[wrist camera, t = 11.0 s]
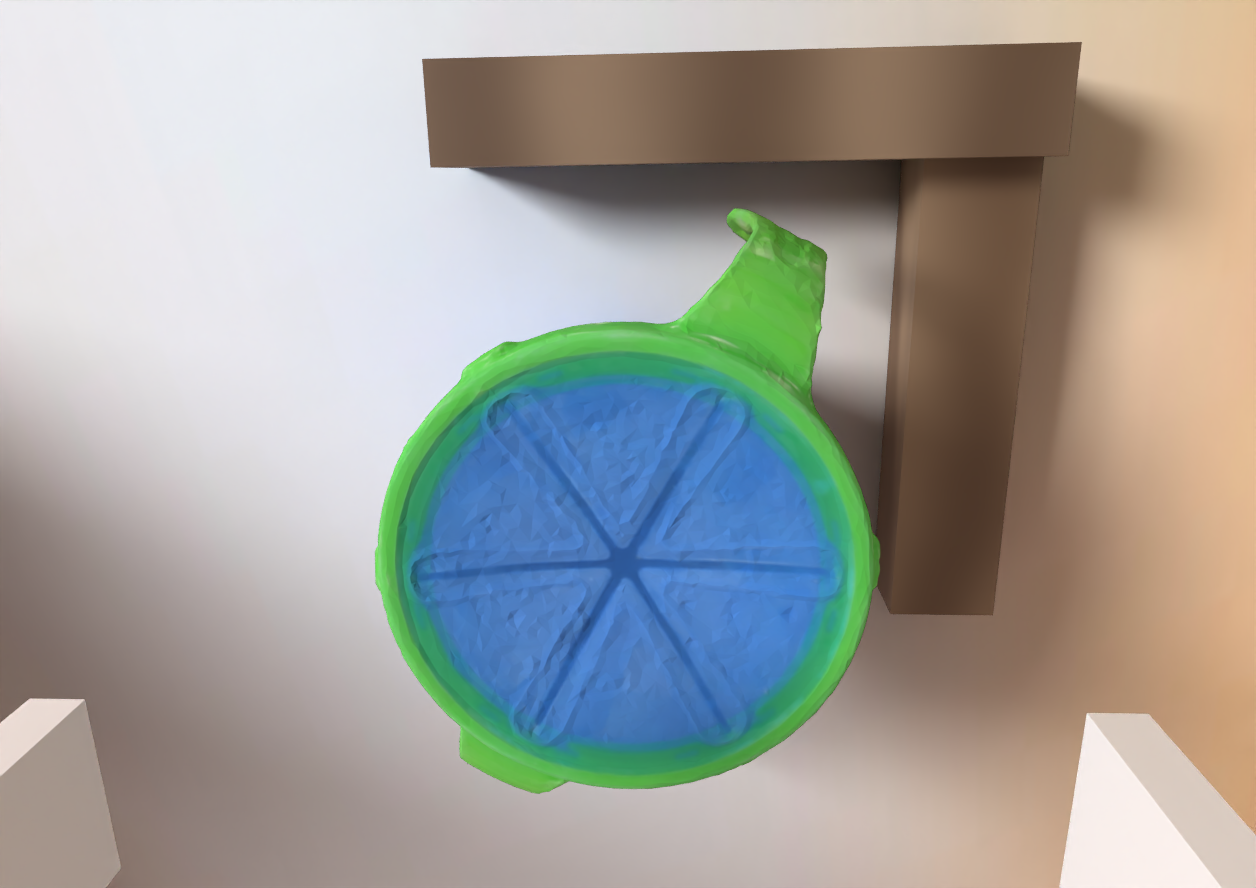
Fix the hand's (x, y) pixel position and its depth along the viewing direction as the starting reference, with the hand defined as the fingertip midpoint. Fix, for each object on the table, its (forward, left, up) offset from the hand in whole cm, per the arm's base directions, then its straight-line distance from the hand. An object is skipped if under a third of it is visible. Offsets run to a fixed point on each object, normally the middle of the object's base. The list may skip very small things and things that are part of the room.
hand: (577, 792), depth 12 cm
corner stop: (+3, +3, -17) cm, 18 cm away
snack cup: (0, 0, -17) cm, 17 cm away
